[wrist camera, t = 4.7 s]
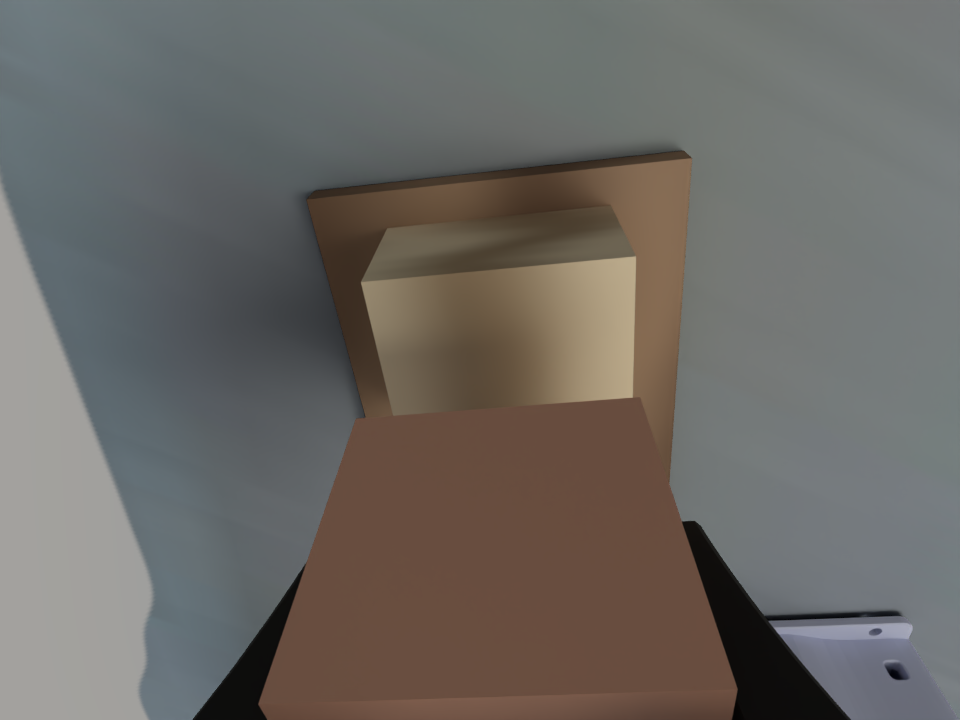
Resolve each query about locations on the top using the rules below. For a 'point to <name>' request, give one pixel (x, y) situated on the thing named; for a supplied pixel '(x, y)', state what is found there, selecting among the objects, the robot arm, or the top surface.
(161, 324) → the top surface
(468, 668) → the terracotta block
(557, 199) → the base plate
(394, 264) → the birch block
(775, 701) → the robot arm
